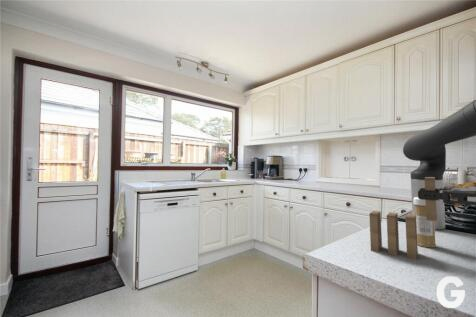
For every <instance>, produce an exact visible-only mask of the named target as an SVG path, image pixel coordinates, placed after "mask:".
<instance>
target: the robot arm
mask: <svg viewBox="0 0 476 317" xmlns="http://www.w3.org/2000/svg"><path fill="white" fill-rule="evenodd" d="M475 136H476V99H474V100H473V101H471V102H469V103H468V104H466V105H464V106H463V107H462V108H460V109H459V110H457V111H456V112H453V113H452V114H451V115H449V116H448V117H446V118H444V119H442V120H441V121H440V122H438V123H436V124H434V125H433V126H431V127H430V128H428V129H425V130H423V131H421V132H419V133H418V134H417V133H416V134H415V135H413V136H412V137H410V138H408V139H407V140H406V141H405V143H404V145H403V148H402V153H403V155H404V157H406V158H407V159H408V160H411V161H414V162H415V161H417V162H419V165H418V167H417V168H415V169H414V170H412V171H410V190H411V191H410V192H411V193H410V194H411V211H412V212H411V214H414V215H415V206H414V201H413V199H414V198H415V197H418V198H419V199H422V200H436V211H437V221H434V224H435V230H445V229H446V215H445V214H446V213H445V209H446V208H445V204H454V205H467V206H472V207H476V186H471V185H469V186H451V187H447V186H444V173H445V171H446V167H447V166H446V164H447V162H446V161H447V160H446V159H447V151H446V150H447V149H446V145H448V144H452V143H455V142H458V141H463V140H465V139H469V138H473V137H475ZM425 177H435V191H434V190H425V180H424V178H425Z"/></svg>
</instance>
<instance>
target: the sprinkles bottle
mask: <svg viewBox="0 0 476 317" xmlns="http://www.w3.org/2000/svg"><path fill="white" fill-rule="evenodd" d="M413 201H414V206H415V215H416V225H417V246H420V247H424V248H436V247H437V244H436V229H435V224H434V221H430V220H427V219H426V200H422V199H419V198H418V197H415V198H414V199H413Z"/></svg>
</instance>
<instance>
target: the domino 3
mask: <svg viewBox="0 0 476 317" xmlns="http://www.w3.org/2000/svg"><path fill="white" fill-rule="evenodd" d="M424 180H425V190H434V191H435V177H425V178H424ZM426 219H427V220H430V221H437V211H436V200H426Z"/></svg>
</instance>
